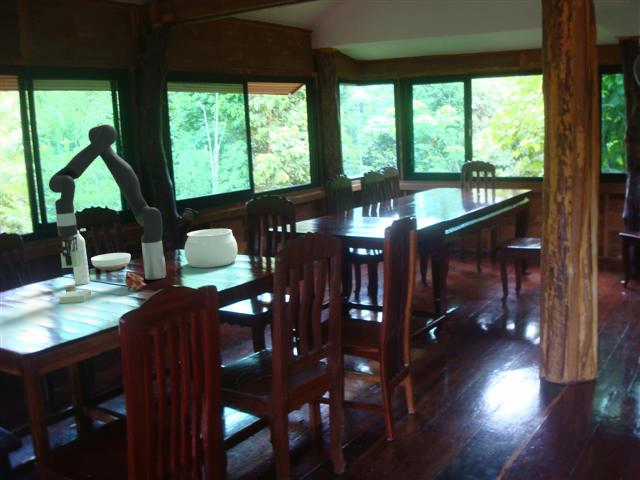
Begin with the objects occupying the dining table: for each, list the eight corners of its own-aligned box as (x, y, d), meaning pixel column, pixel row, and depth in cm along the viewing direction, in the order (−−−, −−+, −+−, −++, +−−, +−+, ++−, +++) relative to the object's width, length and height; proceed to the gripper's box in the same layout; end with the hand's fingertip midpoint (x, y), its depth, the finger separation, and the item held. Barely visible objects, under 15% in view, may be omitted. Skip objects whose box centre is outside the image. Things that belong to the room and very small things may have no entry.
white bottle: (82, 285, 314) (76, 231, 310) (72, 284, 317) (65, 231, 313) (96, 280, 322) (90, 228, 317) (86, 280, 324) (79, 228, 320)
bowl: (139, 265, 354) (138, 253, 353) (110, 273, 338) (108, 261, 337) (114, 263, 364) (112, 252, 363) (84, 271, 348) (82, 259, 347)
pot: (214, 256, 366) (211, 226, 363) (251, 259, 350) (248, 228, 347) (172, 267, 342) (169, 235, 339) (210, 271, 327) (207, 238, 324)
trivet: (91, 295, 292) (90, 289, 292) (84, 301, 282) (84, 295, 282) (67, 297, 292) (67, 291, 291) (60, 303, 282) (59, 297, 281)
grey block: (76, 293, 299) (75, 284, 298) (76, 295, 295) (75, 286, 295) (66, 294, 298) (65, 285, 297) (66, 296, 294) (65, 287, 293)
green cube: (81, 264, 288) (79, 250, 287) (77, 267, 282) (75, 252, 281) (66, 265, 287) (65, 251, 286) (62, 268, 281) (60, 253, 280)
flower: (121, 290, 291) (131, 274, 290) (117, 282, 298) (126, 267, 298) (141, 299, 296) (151, 283, 296) (136, 290, 304) (145, 275, 304)
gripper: (70, 225, 275) (75, 266, 277) (81, 221, 289) (85, 259, 292) (51, 227, 274) (56, 268, 277) (63, 222, 289) (68, 261, 291)
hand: (71, 263), depth 284 cm, fingers closed on green cube, 6 cm apart
